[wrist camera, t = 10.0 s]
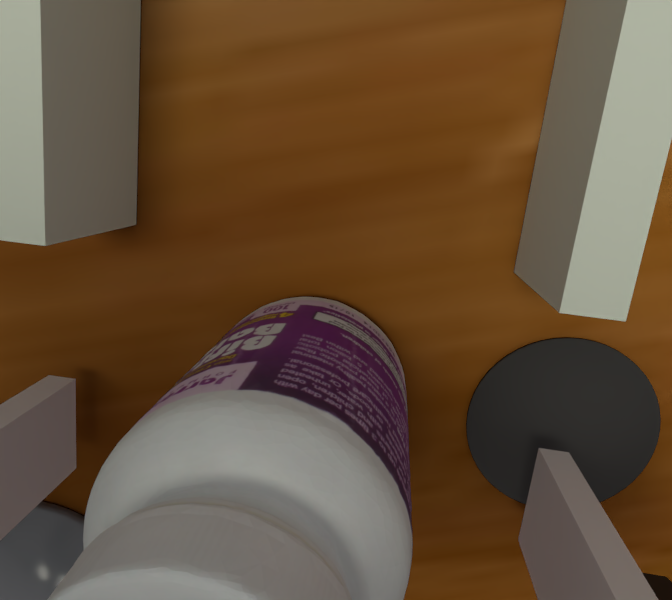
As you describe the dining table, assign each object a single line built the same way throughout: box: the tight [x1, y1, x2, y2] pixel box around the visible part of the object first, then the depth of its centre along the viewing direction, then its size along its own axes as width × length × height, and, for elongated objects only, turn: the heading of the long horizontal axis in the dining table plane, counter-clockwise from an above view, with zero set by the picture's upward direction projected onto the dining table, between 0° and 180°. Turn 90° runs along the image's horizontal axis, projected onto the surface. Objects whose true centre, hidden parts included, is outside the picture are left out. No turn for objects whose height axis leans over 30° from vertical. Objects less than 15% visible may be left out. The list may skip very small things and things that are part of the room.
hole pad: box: [466, 338, 660, 504], centre depth 15 cm, size 5×5×1 cm
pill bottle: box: [47, 297, 413, 600], centre depth 11 cm, size 5×5×10 cm
